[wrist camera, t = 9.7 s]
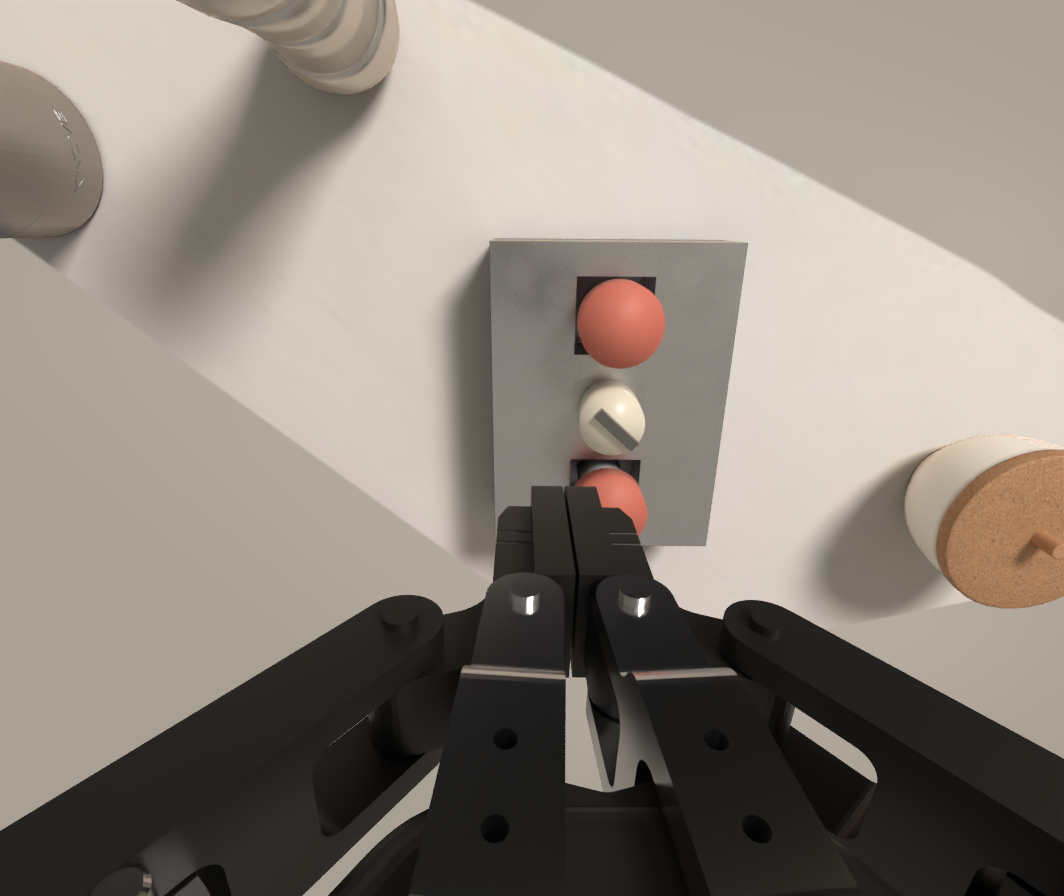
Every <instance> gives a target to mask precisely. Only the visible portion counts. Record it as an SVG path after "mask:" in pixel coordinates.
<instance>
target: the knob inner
mask: <svg viewBox="0 0 1064 896" xmlns="http://www.w3.org/2000/svg"><path fill="white" fill-rule="evenodd" d="M577 328H578V332H579V336H580V338H581V341H582V344H583V346H584V348H585V349H586V351H587V353H588V354H589V355H590V356H591V357H592V358H593V359H594V360H595V361H597V362H598V363H600V364H602V365H604V366H607V367H610V368H617V369H623V368H630V367H633V366H636V365H638V364H641V363H642V362H644V361H645V360H647V359H648V358H649V357H650V356H651V355H652V354H653V353H654V352H655V351H656V350H657V348H658V347H659V345H660V343H661V341H662V339H663V335H664V331H665V315H664V311H663V308H662V306H661V304H660V302H659V300H658V299H657V298H656V296H655V295H654V294H653V293H652V292H651V291H649V290H648V289H647V288H645V287H643V286H642V285H640V284H638V283H636V282H634V281H631V280H627V279H612V280H608V281H605V282H602V283H600V284H598V285H597V286H595V287H594V288H593V289H592V290H590V291H589V293H588V294H587V295H586V296H585V298H584V299H583V301H582V303H581V305H580V307H579V310H578V315H577Z"/></svg>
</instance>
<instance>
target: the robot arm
mask: <svg viewBox="0 0 1064 896" xmlns="http://www.w3.org/2000/svg"><path fill="white" fill-rule="evenodd" d="M102 181H103V170H102V164H101V157H100V153H99V150H98V147H97V144H96V141H95V138H94V136H93V134H92V132H91V130H90V128H89V126H88V124H87V123H86V121H85V119H84V117H83V116H82V115H81V113H80V112H79V111H78V109H77V108H76V107H75V105H74V104H73V103H72V102H71V101H70V100H69V99H68V98H67V97H66V96H65V95H64V94H63V93H62V92H61V91H60V90H59V89H58V88H57V87H56V86H54V85H53V84H51V83H50V82H48V81H47V80H46V79H44V78H43V77H41V76H40V75H38V74H35V73H33V72H31V71H29V70H27V69H24V68H22V67H19V66H16V65H12V64H9V63H6V62H2V61H0V238H24V237H54V236H59V235H63V234H68V233H70V232H72V231H74V230H76V229H77V228H79V227H81V226H82V225H83V224H84V223H85V222H86V221H87V220H88V219H89V218H90V217H91V216H92V214H93V212H94V210H95V209H96V207H97V205H98V202H99V199H100V195H101V192H102ZM570 660H571V669H572V677H586V680H587V687H588V691H587V703H586V716H587V720H588V725H589V729H590V734H591V738H592V743H593V747H594V752H595V756H596V761H597V765H598V770H599V774H600V779H601V784H602V788H603V792H600V791H596V790H591V789H588V788H584V787H579V786H576V785H572V784H567V783H565V720H566V719H565V718H566V712H565V711H566V710H565V709H566V708H565V707H566V703H565V702H566V678H568V677H569V668H570ZM795 707H796V708H798V709H799V710H801V711H802V712H804V713H805V714H807V715H808V716H810V717H811V718H813V719H814V720H816V721H817V722H819V723H820V724H822V725H823V726H825V727H826V728H828V729H829V730H831V731H832V732H834V733H835V734H837V735H838V736H840V737H841V738H843V739H844V740H846V741H847V742H849V743H851V744H852V745H853V746H855V747H856V748H858V749H859V750H860V751H861V752H863V753H864V754H865V755H866V756H867V758H868V759H869V760H870V761H871V763H872V764H873V766H874V768H875V770H876V773H877V778H878V779H877V780H878V781H877V783H874V782H872V781H870V780H869V779H867V778H866V777H864V776H862V775H861V774H860V773H858V772H857V771H855V770H854V769H852V768H851V767H850V766H848V765H847V764H845V763H844V762H842V761H841V760H840V759H838V758H837V757H835V756H834V755H832V754H831V753H829V752H828V751H826V750H825V749H824V748H822V747H821V746H819V745H818V744H816V743H815V742H813V741H812V740H811V739H809V738H808V737H806V736H805V735H803V734H802V733H801V732H799V731H798V730H796V729H795V728H793V727H792V726H790V724H791V720H792V717H793V713H794V709H795ZM367 715H368V716H367ZM366 716H367V717H366ZM365 717H366V718H365ZM362 719H363V720H362ZM361 720H362V721H361ZM358 722H359V723H358ZM357 723H358V724H357ZM356 724H357V725H356ZM353 726H354V727H353ZM352 727H353V728H352ZM349 729H350V730H349ZM348 730H349V731H348ZM347 731H348V732H347ZM344 733H345V734H344ZM343 734H344V735H343ZM342 735H343V736H342ZM340 736H341V737H340ZM339 737H340V738H339ZM338 738H339V739H338ZM335 740H336V741H335ZM334 741H335V742H334ZM333 742H334V743H333ZM330 744H331V745H330ZM329 745H330V746H329ZM439 762H440V764H439V768H438V772H437V777H436V781H435V785H434V789H433V794H432V798H431V802H430V806H429V809H427V810H425V811H424V812H421V813H419V814H417V815H416V816H414V817H412V818H410V819H409V820H407V821H406V822H404V823H403V824H401V825H400V826H398V827H397V828H396V829H394V830H393V831H392V832H390V833H389V834H388V835H387V836H386V837H385V838H384V839H382V840H381V841H380V842H379V843H378V844H377V845H376V846H375V847H374V848H373V849H372V850H371V851H370V852H369V853H368V854H367V855H366V856H365V857H364V858H363V859H362V860H361V861H360V862H359V863H358V864H357V865H356V866H355V867H354V869H353V870H352V871H351V872H350V873H349V874H348V875H347V876H346V877H345V878H344V879H343V880H342V882H341V883H340V884H339V885H338V886H337V887H336V888H335V889H334V890H333V891H332V892H331V893H330V894H329V895H328V896H1064V759H1063V758H1061V757H1059V756H1058V755H1056V754H1054V753H1052V752H1050V751H1048V750H1046V749H1045V748H1043V747H1041V746H1039V745H1037V744H1035V743H1033V742H1032V741H1030V740H1028V739H1026V738H1024V737H1022V736H1021V735H1018V734H1017V733H1015V732H1013V731H1011V730H1009V729H1008V728H1006V727H1004V726H1002V725H1000V724H998V723H996V722H995V721H993V720H991V719H989V718H987V717H985V716H983V715H982V714H980V713H978V712H976V711H974V710H972V709H971V708H969V707H967V706H965V705H963V704H961V703H960V702H958V701H956V700H954V699H952V698H950V697H948V696H947V695H945V694H943V693H941V692H939V691H937V690H935V689H933V688H932V687H930V686H928V685H926V684H924V683H923V682H921V681H919V680H917V679H915V678H913V677H911V676H909V675H908V674H906V673H904V672H902V671H900V670H898V669H897V668H895V667H893V666H891V665H889V664H887V663H885V662H884V661H882V660H880V659H878V658H876V657H874V656H872V655H871V654H869V653H867V652H865V651H863V650H861V649H860V648H858V647H856V646H854V645H852V644H850V643H849V642H846V641H845V640H843V639H841V638H839V637H837V636H836V635H834V634H832V633H830V632H828V631H826V630H824V629H823V628H821V627H819V626H817V625H815V624H813V623H812V622H810V621H808V620H806V619H804V618H802V617H800V616H799V615H797V614H795V613H793V612H791V611H789V610H787V609H785V608H783V607H781V606H778V605H776V604H772V603H769V602H764V601H758V600H745V601H739V602H736V603H734V604H732V605H730V606H729V607H728V608H727V609H726V611H725V613H724V617H723V620H722V619H718V618H713V617H709V616H705V615H700V614H696V613H693V612H690V611H687V610H684V609H682V608H680V607H679V606H678V604H677V602H676V600H675V598H674V596H673V595H672V593H671V592H670V590H669V589H668V588H667V587H666V586H664V585H663V584H662V583H660V582H658V581H656V580H654V578H653V576H652V573H651V570H650V567H649V564H648V562H647V559H646V556H645V553H644V551H643V548H642V546H641V542H640V540H639V537H638V535H637V531H636V529H635V526H634V523H633V520H632V519H631V518H630V517H629V516H628V515H627V514H626V513H624V512H623V511H622V510H621V509H620V508H608V507H602V506H601V502H600V499H599V495H598V491H597V488H596V487H592V486H564V492H563V487H562V486H531V501H530V506H508V507H507V508H506V509H505V510H504V511H503V512H502V513H501V515H500V516H499V517H498V525H497V537H496V550H495V563H494V575H493V583H492V584H491V585H490V586H489V588H488V589H487V592H486V596H485V599H484V600H483V601H481V602H480V603H478V604H477V605H475V606H473V607H471V608H468V609H466V610H462V611H458V612H454V613H449V614H445V615H443V613H442V610H441V609H440V607H439V606H438V605H437V604H436V603H434V602H433V601H432V600H430V599H427V598H425V597H421V596H415V595H400V596H394V597H390V598H386V599H383V600H381V601H379V602H377V603H375V604H373V605H371V606H370V607H368V608H366V609H365V610H363V611H361V612H360V613H359V614H357V615H355V616H353V617H352V618H350V619H348V620H347V621H345V622H343V623H342V624H340V625H338V626H337V627H335V628H334V629H332V630H330V631H329V632H327V633H325V634H324V635H322V636H320V637H319V638H317V639H316V640H314V641H312V642H311V643H309V644H307V645H306V646H304V647H303V648H301V649H299V650H297V651H296V652H294V653H293V654H291V655H289V656H287V657H286V658H284V659H282V660H281V661H279V662H278V663H276V664H274V665H273V666H271V667H269V668H268V669H266V670H264V671H263V672H261V673H259V674H258V675H256V676H254V677H253V678H251V679H250V680H248V681H246V682H245V683H243V684H241V685H240V686H238V687H236V688H235V689H233V690H231V691H230V692H228V693H226V694H225V695H223V696H222V697H220V698H218V699H217V700H215V701H214V702H212V703H210V704H209V705H207V706H205V707H204V708H202V709H200V710H199V711H197V712H195V713H194V714H192V715H190V716H189V717H187V718H186V719H184V720H182V721H180V722H179V723H177V724H175V725H174V726H173V727H171V728H169V729H167V730H166V731H164V732H162V733H161V734H159V735H157V736H156V737H154V738H152V739H151V740H149V741H148V742H146V743H144V744H143V745H141V746H139V747H138V748H136V749H134V750H133V751H131V752H129V753H128V754H126V755H124V756H123V757H121V758H120V759H118V760H117V761H115V762H113V763H111V764H110V765H108V766H106V767H105V768H103V769H101V770H100V771H98V772H97V773H95V774H93V775H91V776H90V777H88V778H87V779H85V780H83V781H82V782H80V783H79V784H77V785H75V786H73V787H72V788H70V789H68V790H67V791H65V792H64V793H62V794H60V795H59V796H57V797H56V798H54V799H52V800H50V801H49V802H47V803H45V804H44V805H42V806H40V807H39V808H37V809H36V810H34V811H32V812H31V813H29V814H27V815H26V816H24V817H22V818H21V819H19V820H17V821H16V822H14V823H13V824H11V825H9V826H8V827H6V828H4V829H3V830H1V831H0V896H302V895H303V894H304V893H305V892H306V891H308V890H309V889H310V888H311V887H312V886H313V885H314V884H315V883H316V882H317V881H318V880H319V879H320V878H321V877H322V876H323V875H324V874H325V873H326V872H327V871H328V870H329V869H330V868H331V867H332V866H333V865H334V864H335V863H336V862H337V861H339V859H341V858H342V857H343V856H344V855H345V854H346V853H347V852H348V851H349V850H350V849H351V848H352V847H353V846H354V845H355V844H356V843H357V842H358V841H359V840H360V839H361V838H362V837H363V836H364V835H365V834H366V833H367V832H368V831H370V829H372V827H374V826H375V825H376V824H377V823H378V822H379V821H380V820H381V819H382V818H383V817H384V816H385V815H386V814H387V813H388V812H389V811H390V810H391V809H392V808H393V807H394V806H395V805H396V804H397V803H398V802H399V801H400V800H402V798H404V797H405V796H406V795H407V794H408V793H409V792H410V791H411V790H412V789H413V788H414V787H415V786H416V785H417V784H418V783H419V782H420V781H421V780H422V779H423V778H424V777H425V776H426V775H427V774H428V773H429V772H430V771H431V770H432V769H434V768H435V767H436V766H437V765H438V763H439Z"/></svg>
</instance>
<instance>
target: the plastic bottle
mask: <svg viewBox="0 0 1064 896" xmlns="http://www.w3.org/2000/svg"><path fill="white" fill-rule="evenodd" d="M177 1H179V2H181V3H183V4H185V5H187V6H189V7H191V8H193V9H195V10H197V11H199V12H201V13H203V14H206V15H208V16H210V17H214V18H217V19H220V20H223V21H226V22H229V23H232V24H235V25H238V26H241V27H243V28H245V29H247V30H249V31H251V32H253V33H255V34H257V35H258V36H260V37H262V38H263V39H264V40H265V41H266V42H267V43H268V44H269V45H270V46H272V48H273V49H274V51H275V52H276V54H277V55H278V56H279V58H280V59H281V60H282V61H283V62H284V63H285V64H286V65H287V67H288V68H289V69H290V70H291V71H292V72H293V73H294V74H295V75H296V76H297V77H299V78H300V79H301V80H303V81H304V82H305V83H307V84H308V85H310V86H312V87H314V88H317V89H319V90H322V91H326V92H330V93H336V94H355V93H360V92H363V91H366V90H368V89H370V88H372V87H373V86H375V85H376V84H378V83H379V82H380V81H381V80H382V79H383V78H384V77H385V76H386V74H387V73H388V72H389V70H390V68H391V67H392V65H393V63H394V60H395V57H396V54H397V51H398V45H399V22H398V15H397V10H396V6H395V1H394V0H177Z"/></svg>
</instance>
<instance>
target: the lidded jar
mask: <svg viewBox="0 0 1064 896" xmlns="http://www.w3.org/2000/svg"><path fill="white" fill-rule="evenodd" d="M904 506H905V519H906V522H907V526H908V529H909V532H910V534H911V536H912V538H913V540H914V541H915V543H916V545H917V546H918V548H919V549H920V550H921V552H922V553H923V554H924V555H925V557H926V558H927V559H928V560H929V561H930V563H931V564H932V565H933V566H934V567H935V568H936V569H937V570H938V571H939V572H941V573H942V574H943V575H944V576H945V577H946V579H947V580H948V581H949V582H950V583H951V585H953V586H954V587H955V588H956V589H957V590H958V591H960V592H961V593H962V594H963V595H964V596H966V597H967V598H969V599H971V600H973V601H975V602H977V603H980V604H983V605H986V606H991V607H997V608H1025V607H1031V606H1035V605H1040V604H1044V603H1046V602H1050V601H1053V600H1056V599H1058V598H1060V597H1062V596H1064V448H1062V447H1059V446H1057V445H1054V444H1051V443H1049V442H1045V441H1042V440H1038V439H1034V438H1029V437H1023V436H1017V435H1011V434H988V435H979V436H974V437H970V438H966V439H962V440H959V441H956V442H954V443H951V444H949V445H947V446H946V447H944V448H941V449H939V450H937V451H935V452H933V453H932V454H931V455H929V456H928V457H926V458H925V459H924V460H923V461H922V462H921V463H920V464H919V465H918V467H917V468H916V470H915V471H914V473H913V475H912V477H911V479H910V482H909V486H908V488H907V492H906V495H905V503H904Z"/></svg>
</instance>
